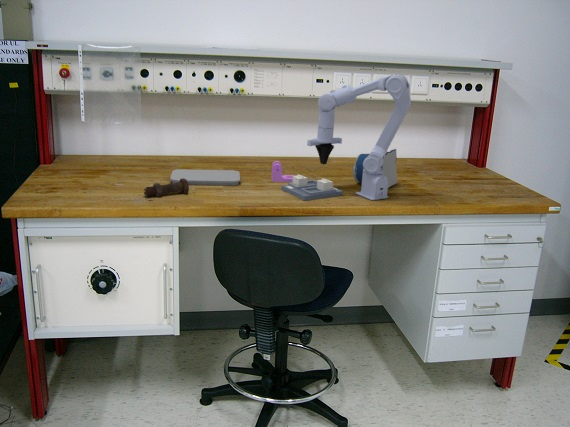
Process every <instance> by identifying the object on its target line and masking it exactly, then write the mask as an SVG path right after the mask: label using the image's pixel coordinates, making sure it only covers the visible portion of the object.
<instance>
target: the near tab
mask: <svg viewBox="0 0 570 427" xmlns="http://www.w3.org/2000/svg"><path fill="white" fill-rule="evenodd" d="M316 181H317V189H319V190H321V191H324V190H331V189H332V187H334V186H333V184H334V181H332V180H329V179H327V178H322V177H321V179H317V180H316Z"/></svg>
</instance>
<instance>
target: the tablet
mask: <svg viewBox="0 0 570 427" xmlns="http://www.w3.org/2000/svg"><path fill="white" fill-rule="evenodd" d="M171 171H172V172H171V175H170V179H169V180H170V181H171V182H172V183H171V184H173V183H177V182H180V179H182V178H184V179H186V180H187V182H188V184H189V186H190V185H191V186H193V185H194V186H238V185H239V183H240V182H241V173H240V171H238V170H232V169H231V170H229V169H227V170H226V169H188V168H187V169H184V168H183V169H182V168H180V169H178V168H177V169H174V170H171Z"/></svg>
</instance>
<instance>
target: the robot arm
mask: <svg viewBox="0 0 570 427" xmlns="http://www.w3.org/2000/svg"><path fill="white" fill-rule="evenodd" d="M377 90H378V91H381V92H386V91H387V93H388V94H389V95H390V96H391V98H392V100H393V103H394V105H395V106H394V108H393V110H392V112H391V114H390V116H389V117H388V120H387V122H386V124H385V126H384V127H383V130H382V131H381V134H380V136H379V137H378V139H377V141H376V144H375V145H374V147H372V150H371V152H370V153H368V154H369V156H368V157H367V158H365V160H364V161H363V168H364V169H363V176H362V183H361V188H360V191H356V192H355V195H358V196H360V197H362V198H365V199H368V200H371V201H376V200H377V201H378V200H382V199H389V196H388V189H389V188H388V179H387V177H386V176H384V175H383V170H382V168H381V166H382V165H383V164H384V157H385V154H386V152H388V149H389V148H390V145H392V143H393V140H394V138H395V136H396V134H397V133H398V130H399V129H400V127H401V125H402V123H403V121H404V119H405V118H406V115H407V114H408V111H409V109H410V108H411V104H412V100H411V98H412V97H411V91H410V83H409V81H408V78H407V77H406V76H405V75H404V74H401V73H397V74H394V75H387V76H382V77H379V78H377V79H373V80H371V81H369V82H366V83H363V84H360V85H358V86H356V87H353V86H351V85H348V86H347V85H346V84H345V85H342V86H341V88H339V89H336V90H330V91H329V92H328V93H325V94H322V95H321V96H320V97H319V98H318V101H317V105H318V108H319V113H318V122H317V137H316V138H313V139H308V140H307V142H306V143H307V144H306V146H308V147H314V146H315V149H316V150H317V153H318V157H319V162H320V163H319V164H321V165H327V163H328V160H329V157H330V155H331V153H332V151H333V150H334V148H335V145H334V144H339V145H342V143H343V138H342V137H334V129H335V128H334V127H335V113H336V110H335V109H336V107H339V108H340V107H342V106H344V105H347V104H350V103H354V102H355V101H356V99H357V97H358V96H362V95H364V94H368V93H371V92H374V91H377Z"/></svg>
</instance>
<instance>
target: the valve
mask: <svg viewBox="0 0 570 427" xmlns="http://www.w3.org/2000/svg"><path fill="white" fill-rule="evenodd" d="M369 154H370V153H360V154H359V155H357V157H356V159H355V163H354V166H353V167H351V168H352V174H353V178H354V181H355V183H356V182H357V183H359V184H362V176H363V169H364V168H363V161H364V160H365V158H367V157H368V156H369ZM397 157H398V156H397V148H394V149H391V150H390V151H387V152H386V154H385V157H384V164H383V165H382V166H381V168H382V170H383V175H384V176H386V177H387V179H388V189H389V188H390V187H392V186H395V185H396V184H398V175H397V172H398V171H397Z"/></svg>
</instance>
